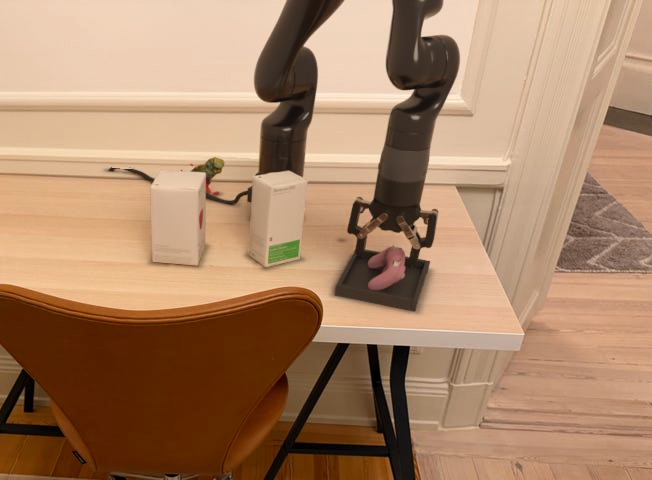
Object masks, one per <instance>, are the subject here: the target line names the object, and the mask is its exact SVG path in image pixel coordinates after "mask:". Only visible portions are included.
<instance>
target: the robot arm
mask: <svg viewBox="0 0 652 480" xmlns="http://www.w3.org/2000/svg"><path fill="white" fill-rule="evenodd" d="M345 1H346V0H285V3H284V5H283V8H282V10H281V12H280V15H279V17H278V19H277V21H276V23H275V25H274V26H273V29H272V31H271V32H270V34H269V37H268V38H267V40H266V42H265V44H264V46H263V48H262V49H261V52H260V54H259V56H258V59H257V61H256V64H255V68H254V72H253V73H254V74H253V87H254V91H255V94H256V95H257V97H258V98H259V99H260V100H261V101H262V102H265V103H269V104H277V103H278V105H277V107H276V108H275V109H274V110H273V111H272V112H271V113H268V115H266V116H265V117H264V118H263V119H262V121H261V122H260V132H259V133H260V134H259V153H258V167H257V172H256V173H255V175H254V176H257V175H264V174H268V173H276V172H283V171H291V172H293V173H295V174H296V175H299V176H301V177H303V178H304V173H305V161H306V151H307V150H306V149H307V140H308V138H307V137H308V131H309V128H310V126H311V123H312V121H313V116H314V110H315V104H316V103H315V102H316V96H317V90H318V83H319V67H318V61H317V58H316V56H315V53H314V52H313V51H312V50H311V48H309V47H308V46H305V44H306V43H307V42H308V40H309V39H310V38H311V37H312V36H313V35H314V34H315V32H317V31H318V30H319V29H320V28H321V27H322V26H323V25H324V24H325V23H326V22H327V21H328V20H329V19H330V18H331V17H332V16H333V15H334V14H335V13H336V12H337V10H338V9H340V7H341V6H342V5H343V3H344V2H345ZM443 6H444V0H391V7H392V13H391V20H390V27H389V32H388V33H389V34H388V40H387V48H386V53H385V72H386V75H387V78H388V80H389V82H390V83H391V85H392V87H394V88H395V89H397V90H399V91H405V92H406V91H412V93H411V95H410V96H409V97H408V98H405V100H403V101H401V102H398V103H396V104H395V105H394V106H393V107H392V108H391V110H390V112H389V116H388V119H387V125H386V131H385V137H384V142H383V147H382V150H381V153H380V158H379V163H378V166H377V175H376V182H375V188H374V193H373V197H372V200H371V201H370V200H364V199H363V197H361V196H358V197H356V198H355V199H354V201H353V203H352V206H351V211H350V216H349V220H348V224H347V229H346V232H347V233H348V234H349V235H353V236H355V237H356V244H355V248H354V251H355V253H356V255H358V258H360V259H362V258H363V256H364V253H365V250H366V246H367V240H368V235H369V234H370V233H372V232H374V230H376V229H377V228H379V229H380V230H381V231H383V232H384V231H385V232H387V231H390V232H393V233H395V234H396V233H397V234H400V233H403V234H404V236H405V238H406V239H407V240H408V241H409V243H410V245H411V248H410V252H409V256H408V257H409V261H408V266H407V267H408V268H412V265H416V264H417V261H418V259H420V258H419V257H420V252H421V249H423V248H424V249H425V248H427V249H430V248H432V246H433V244H434V241H435V236H436V231H437V224H438V219H439V210H438V209H437V208H433V209H431V210H425V209H422V207H421V201H422V196H423V192H424V187H425V183H426V177H427V173H428V168H429V164H430V155H431V147H432V146H431V145H432V141H433V136H434V131H435V128H436V127H435V126H436V123H437V122H436V121H437V119H438V117H439V115H440V113H441V111H442V109H443V108H444V106H445V103H446V101H447V99H448V97H449V95H450V92H451V91H452V89H453V86H454V84H455V81H456V79H457V77H458V73H459V70H460V66H461V65H460V64H461V51H460V48H459V45H458V43H457V41H456V40H455V39H454V38H453V37H452V36H450V35H448V34H435V35H427V36H422V30H423V26H424V22H425V20H428V19H430V18H433V17H435V16H437V15H438V14H439V13H440V12H441V11H442V9H443ZM117 169H118V170H121V169H120V168H112V166H111V167H110V168H109V169H108V172H113V171H114V170H117ZM122 170H123V171H126V172H130V173H133V174H136V175H139V176H141V177H142V178H144V179H146V180H147V181H149V182H151V183H153V182H154V180H155V178H153V177H152V176H150V175H149V174H147V173H145V172H143V171H142V170H138V169H135V168H132V169H122ZM245 196H246V197H247V198H246V202H247V203H250V204H251V201H252V185H251V186H249V187H248V188H247V190H244V191H241V192H239V193H238V194H237V195H236V196H235V199H232V200H226V199H222V198H220V197H217V196H215V195H212V194H209V193H206V199H209V200H211V201H214V202H216V203H220V204H225V205H235V204H238V202H240V199H241V198H242V197H245ZM366 210H368V212H369V213H370V215H371V218H370V219H369V220H368V221H367V222H366V223H365V224H364V225H363V226H362V227H361V226H360V225H358V224H359V219H360V215H361V214H363V213H365V211H366ZM420 218H421V219H422V221H423V224H424V225H426V231H425V237H422V236H421V234H420V232H419V231H418V227H417V225H416V222H417V221H418V220H419V219H420Z"/></svg>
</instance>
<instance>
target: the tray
mask: <svg viewBox="0 0 652 480" xmlns="http://www.w3.org/2000/svg"><path fill="white" fill-rule="evenodd" d="M381 252H382V251H378V250H377V251H376V250H370V249H365V253H364V256H363V258H362V259H360V258H358V255H356V253H355V250H354V251H353V252H352V255H351V256H350V258H349V261H347V264H346V266H345V268H344V270H343V271H342V274H341V276H340V277H339V278H338V281H337V283H336V285H335V291H334V296H336V297H342V298H346V299H351V300H357V301H361V302H367V303H371V304H377V305H381V306H385V307H391V308H396V309H401V310H407V311H411V312H416V310H417V307H418V304H419V300H420V297H421V295H422V291H423V288H424V285H425V282H426V280H427V279H426V278H427V276H428V272H429V270H430V269H429V268H430V264H431V260H427V259H423V258H422V259H421V258H418V261H417V264H416V265H412V268H408V267H407V266H408V261H409V256H405V263H404V266H405V271H404V273H405V275H404V278H402V279H400V280H399V281H398V282H396V283H394V284H392V285H391V286H389V287H387V288H385V289H383V290H379V291H374V290H369V288H368V283H369V282H370V281H371V280H372V279H373V278H374V277H376V276H378V275H380V274H382V272H383V269H384V268H385V266H384V267H381V268H376V269H372V268H369V267H368V261H369V259H370V258H371V257H373V256H375V255H377V254H379V253H381Z"/></svg>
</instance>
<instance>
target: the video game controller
mask: <svg viewBox="0 0 652 480" xmlns="http://www.w3.org/2000/svg"><path fill="white" fill-rule="evenodd" d="M380 252H381V253H379V254H377V255H375V256H373V257H371V258H370V259H369V261H368V267H369V268H372V269H376V268H381V267H384V266H385V268H384V269H383V272H382V274H380V275H378V276H376V277H374V278H373V279H372V280H371V281H370V282H369V283H368V288H369V290H374V291H379V290H383V289H385V288H387V287H389V286H391V285H392V284H394V283H396V282H398V281H399V280H400V279H402V278H404V275H405V273H404V271H405V266H404V263H405V257H406V253H405V250H404V249H403V248H402V247H400V246H395V245H394V244H393V245H392V246H388V247H387V248H385V249H384V250H383V251H380Z"/></svg>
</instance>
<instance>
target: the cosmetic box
mask: <svg viewBox="0 0 652 480" xmlns="http://www.w3.org/2000/svg"><path fill="white" fill-rule="evenodd" d="M251 180H252V185H251V186H252V201H251V203H250V204H251V205H250V219H249V236H248V237H249V238H248V250H247V252H248V253H247V254H248V256H249V257H250V258H252V259H253V260H254V261H256V262H257V263H259V264H260V265H261V266H263V267H264V268H269V267H272V266H273V267H274V266H277V265H281V264H285V263H289V262H294V261H298V260H300V259H301V251H302V241H303V231H304V222H305V214H306V213H305V212H306V202H307V193H308V184H309V180H308V179H307V178H304V176H303V177H301V176H299V175H296V174H295V173H293V172H291V171H283V172H276V173H268V174H264V175H257V176H255V175H253V176H252V179H251Z"/></svg>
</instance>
